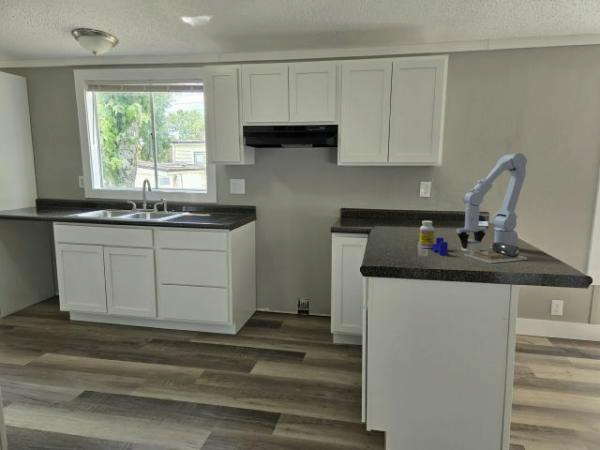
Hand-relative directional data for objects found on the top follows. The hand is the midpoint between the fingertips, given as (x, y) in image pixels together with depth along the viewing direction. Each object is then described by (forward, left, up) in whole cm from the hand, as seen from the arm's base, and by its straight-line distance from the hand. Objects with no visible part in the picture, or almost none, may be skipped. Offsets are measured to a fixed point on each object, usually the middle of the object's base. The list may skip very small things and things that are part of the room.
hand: (470, 247), depth 183 cm
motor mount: (0, +15, -1) cm, 15 cm away
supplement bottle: (+14, -14, -2) cm, 20 cm away
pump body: (0, 0, -2) cm, 2 cm away
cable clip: (+15, -2, -2) cm, 15 cm away
